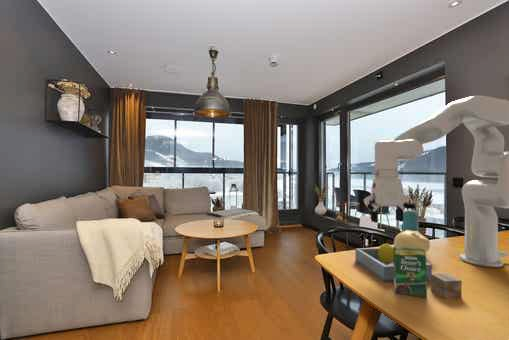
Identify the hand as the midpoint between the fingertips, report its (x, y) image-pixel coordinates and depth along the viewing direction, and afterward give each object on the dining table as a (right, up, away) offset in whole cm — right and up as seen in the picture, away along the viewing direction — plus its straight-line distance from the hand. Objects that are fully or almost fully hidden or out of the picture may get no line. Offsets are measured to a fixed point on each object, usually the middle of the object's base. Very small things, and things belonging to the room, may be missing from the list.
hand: (387, 221), depth 93 cm
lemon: (0, -16, 0) cm, 16 cm away
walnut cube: (+7, -17, -20) cm, 27 cm away
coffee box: (-4, -17, -20) cm, 26 cm away
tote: (0, -17, -2) cm, 17 cm away
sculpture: (+16, -17, +11) cm, 26 cm away
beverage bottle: (+23, -17, +24) cm, 38 cm away
